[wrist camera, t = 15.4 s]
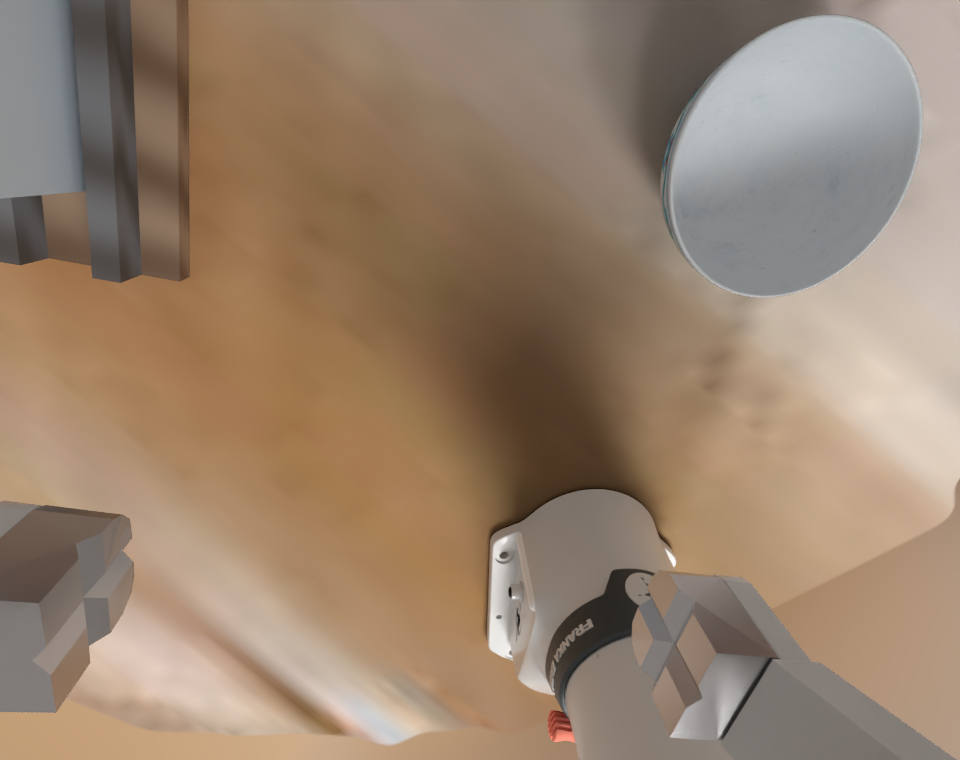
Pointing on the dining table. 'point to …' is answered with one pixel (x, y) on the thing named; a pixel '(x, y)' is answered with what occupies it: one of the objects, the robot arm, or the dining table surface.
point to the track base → (153, 150)
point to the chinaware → (793, 156)
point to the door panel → (39, 100)
